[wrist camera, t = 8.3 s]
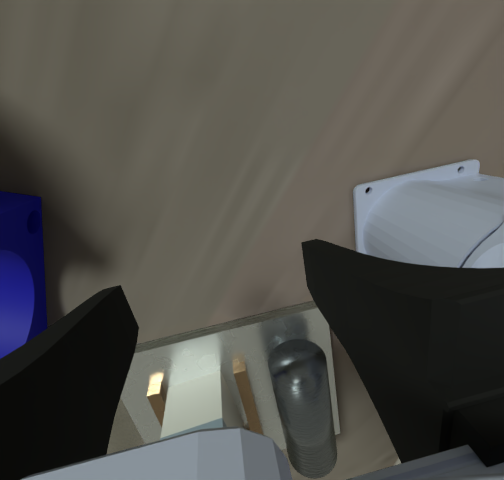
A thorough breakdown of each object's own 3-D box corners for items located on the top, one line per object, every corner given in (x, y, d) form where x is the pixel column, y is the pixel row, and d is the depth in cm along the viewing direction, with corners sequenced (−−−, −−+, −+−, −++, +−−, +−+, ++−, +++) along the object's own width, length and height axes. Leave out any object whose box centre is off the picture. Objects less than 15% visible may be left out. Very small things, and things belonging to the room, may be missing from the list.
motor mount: (322, 298, 24) (352, 344, 19) (336, 424, 30) (361, 483, 25) (106, 352, 23) (77, 415, 18) (166, 470, 29) (157, 542, 24)
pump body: (220, 370, 24) (222, 428, 19) (243, 423, 26) (251, 485, 22) (168, 387, 24) (158, 450, 19) (197, 438, 26) (195, 504, 22)
